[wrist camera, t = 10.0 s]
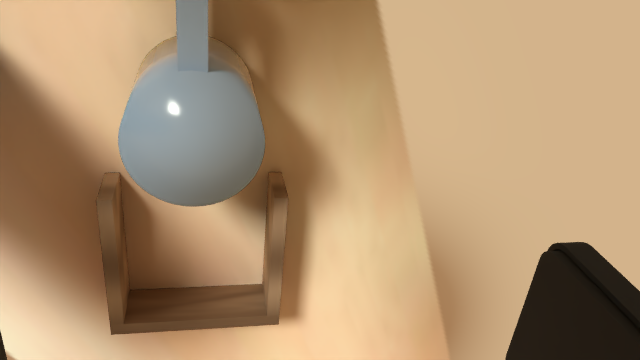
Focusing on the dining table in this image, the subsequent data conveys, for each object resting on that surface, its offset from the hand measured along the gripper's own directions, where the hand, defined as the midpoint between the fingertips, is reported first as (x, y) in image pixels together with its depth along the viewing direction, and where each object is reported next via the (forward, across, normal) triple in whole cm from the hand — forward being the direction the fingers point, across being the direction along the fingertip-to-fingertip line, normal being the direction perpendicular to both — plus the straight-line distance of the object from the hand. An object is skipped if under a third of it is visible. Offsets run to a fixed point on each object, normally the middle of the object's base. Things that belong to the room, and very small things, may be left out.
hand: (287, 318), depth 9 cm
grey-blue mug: (+30, +2, +4) cm, 31 cm away
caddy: (+30, +2, +18) cm, 36 cm away
